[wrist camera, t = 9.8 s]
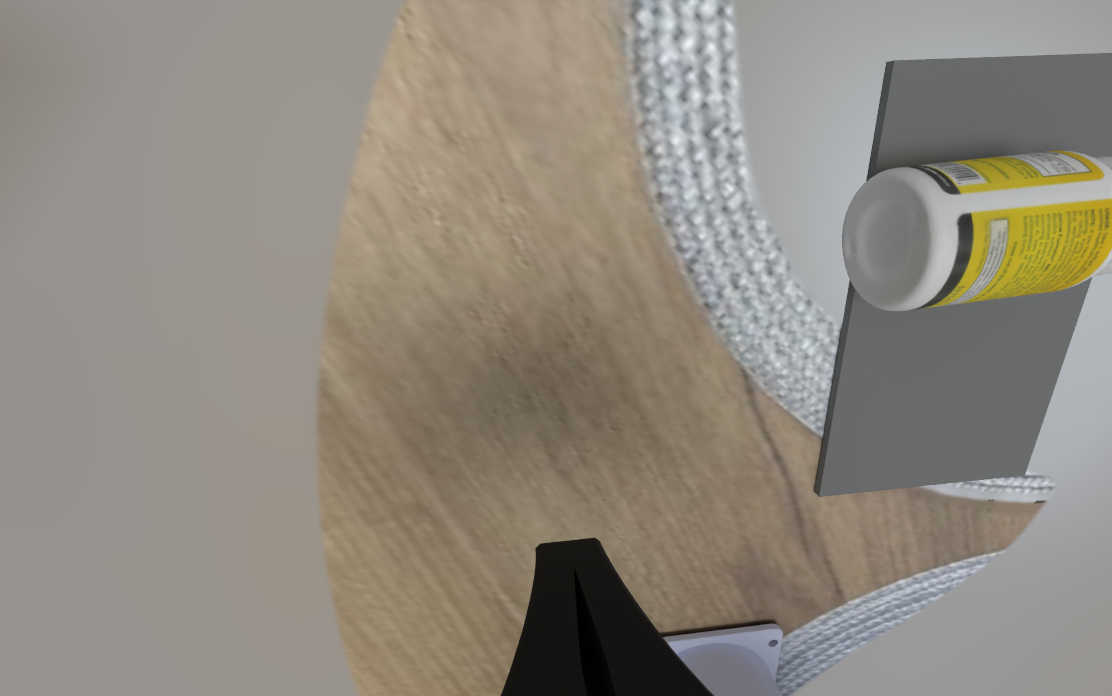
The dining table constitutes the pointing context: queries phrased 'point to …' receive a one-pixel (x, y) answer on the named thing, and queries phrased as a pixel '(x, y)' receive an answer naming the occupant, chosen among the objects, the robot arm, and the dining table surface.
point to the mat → (969, 328)
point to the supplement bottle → (979, 229)
